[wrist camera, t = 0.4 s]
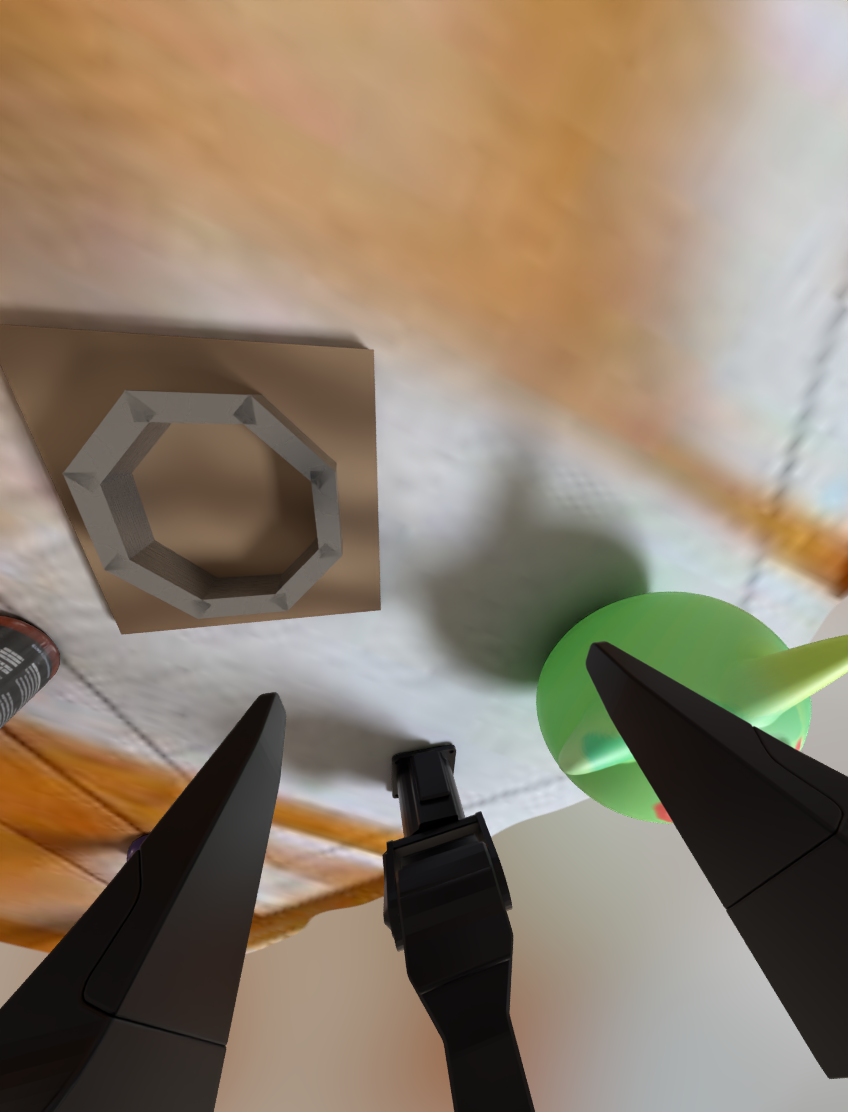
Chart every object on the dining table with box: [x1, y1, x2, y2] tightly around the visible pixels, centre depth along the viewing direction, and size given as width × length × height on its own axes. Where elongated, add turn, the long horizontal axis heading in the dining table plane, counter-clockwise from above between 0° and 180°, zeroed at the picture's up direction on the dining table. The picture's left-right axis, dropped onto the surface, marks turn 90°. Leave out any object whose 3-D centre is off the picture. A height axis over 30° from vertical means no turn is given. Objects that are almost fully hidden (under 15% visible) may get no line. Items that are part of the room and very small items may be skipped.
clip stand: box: [0, 324, 381, 634], centre depth 19 cm, size 16×16×1 cm
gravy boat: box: [536, 592, 848, 823], centre depth 25 cm, size 18×17×15 cm
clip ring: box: [63, 390, 343, 619], centre depth 17 cm, size 12×12×2 cm
